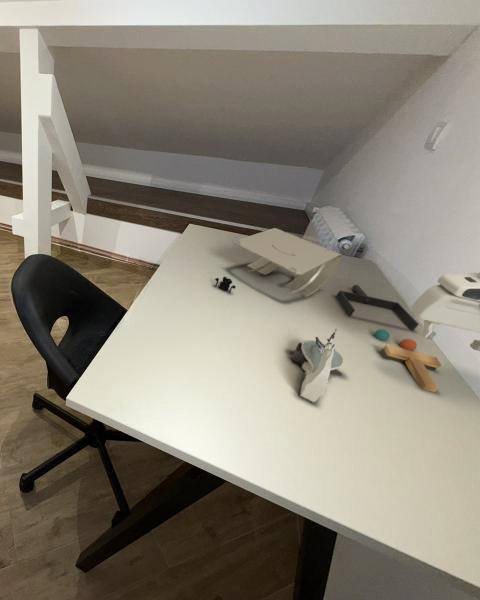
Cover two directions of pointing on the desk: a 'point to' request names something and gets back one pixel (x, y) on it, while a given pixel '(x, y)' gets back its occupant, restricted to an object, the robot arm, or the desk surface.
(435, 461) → the desk surface
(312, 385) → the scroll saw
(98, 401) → the desk surface
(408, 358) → the wooden t-shaped block
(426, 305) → the robot arm
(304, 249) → the laptop stand
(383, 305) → the dark flat angular piece
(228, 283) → the wireless earbuds
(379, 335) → the teal ball
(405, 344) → the terracotta ball
